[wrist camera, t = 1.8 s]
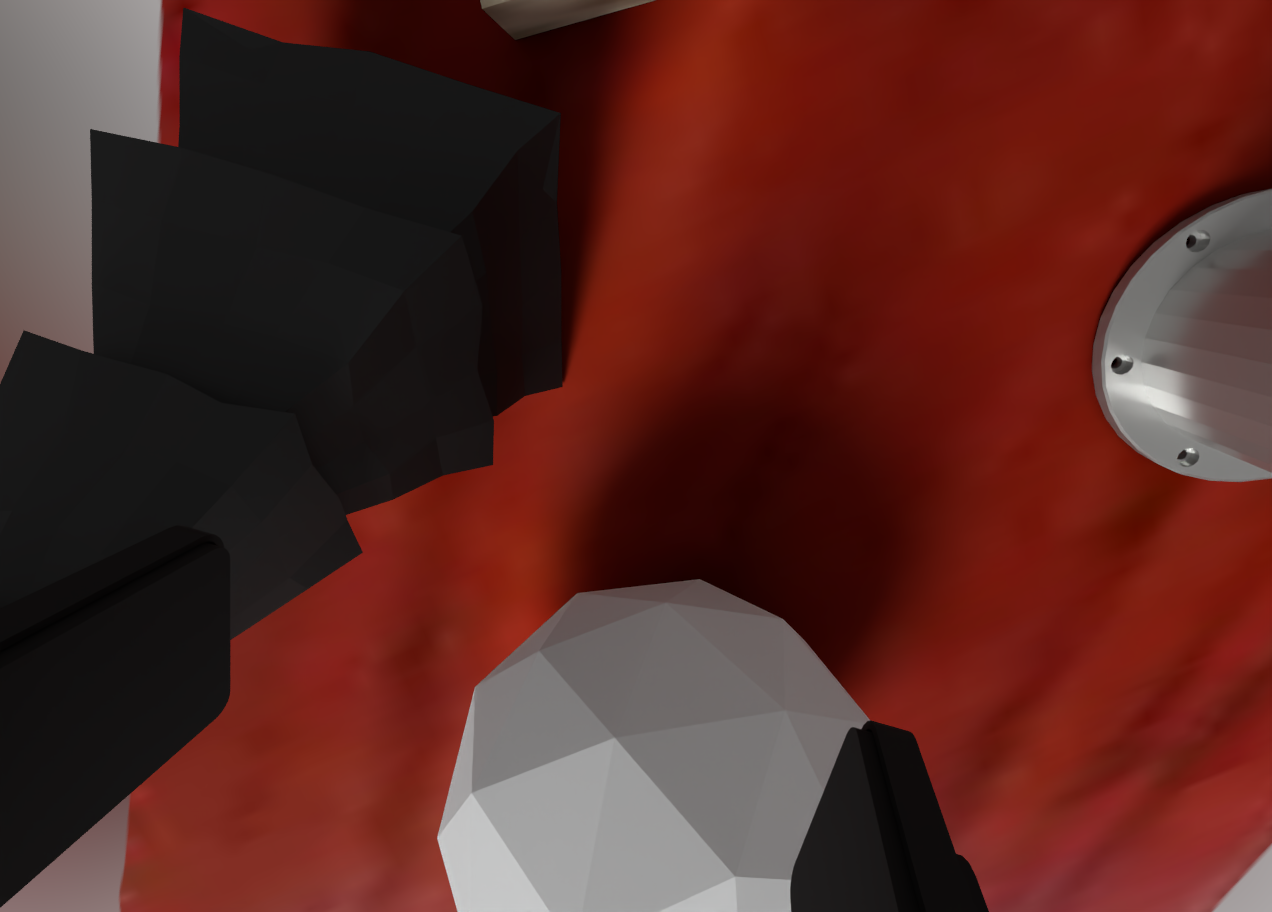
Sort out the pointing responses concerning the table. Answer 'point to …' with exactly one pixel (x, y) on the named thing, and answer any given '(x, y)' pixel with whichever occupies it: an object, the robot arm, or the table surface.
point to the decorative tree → (286, 316)
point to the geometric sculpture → (644, 759)
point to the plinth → (548, 13)
